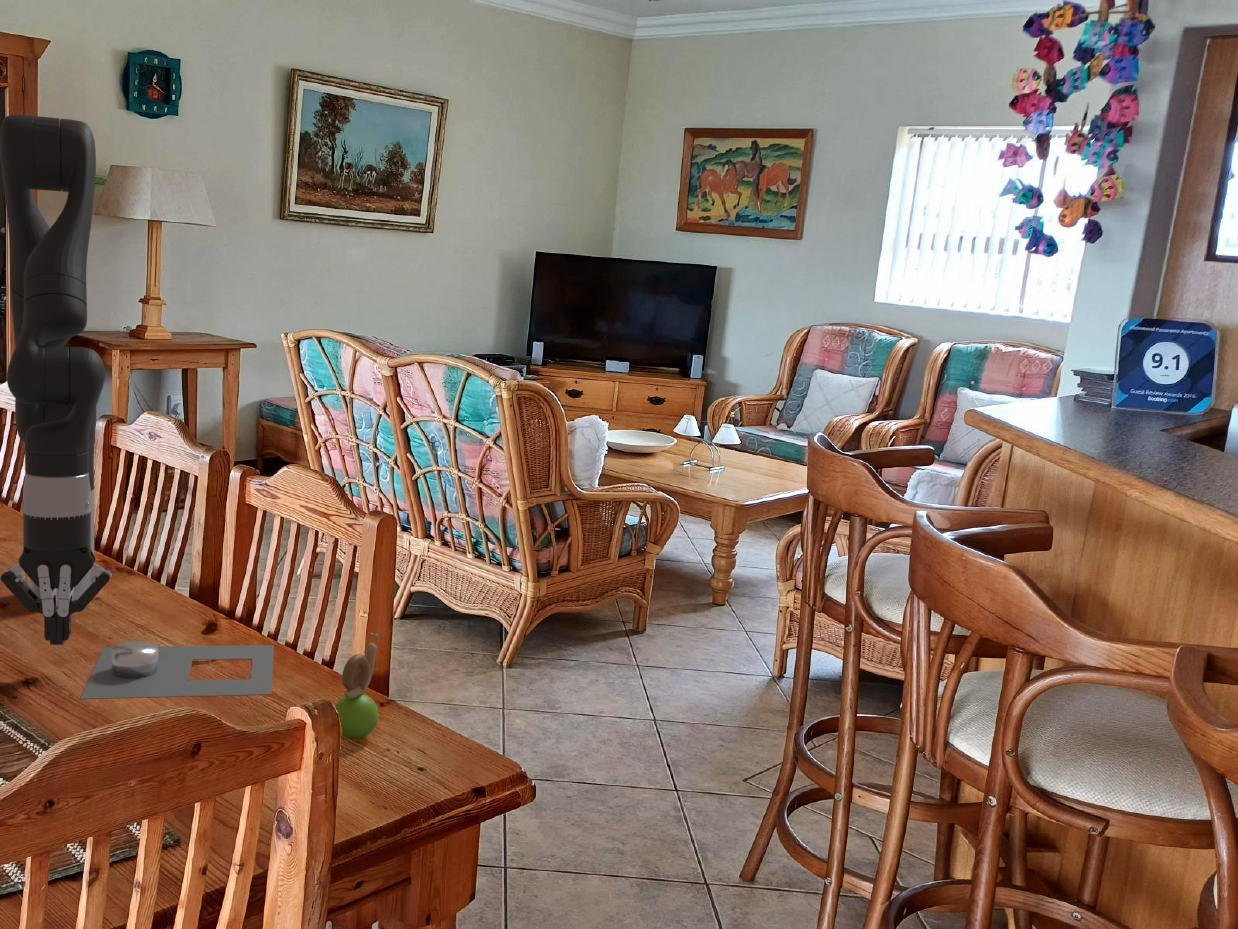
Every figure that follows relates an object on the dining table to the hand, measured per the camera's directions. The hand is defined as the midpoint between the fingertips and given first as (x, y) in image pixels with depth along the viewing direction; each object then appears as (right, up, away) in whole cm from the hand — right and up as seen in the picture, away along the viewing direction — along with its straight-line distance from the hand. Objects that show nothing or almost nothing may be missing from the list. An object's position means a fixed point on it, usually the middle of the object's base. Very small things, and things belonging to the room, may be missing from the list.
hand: (57, 643), depth 144 cm
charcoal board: (+14, -6, +5) cm, 16 cm away
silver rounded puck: (+8, -4, +4) cm, 10 cm away
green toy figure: (+39, -10, -7) cm, 41 cm away
